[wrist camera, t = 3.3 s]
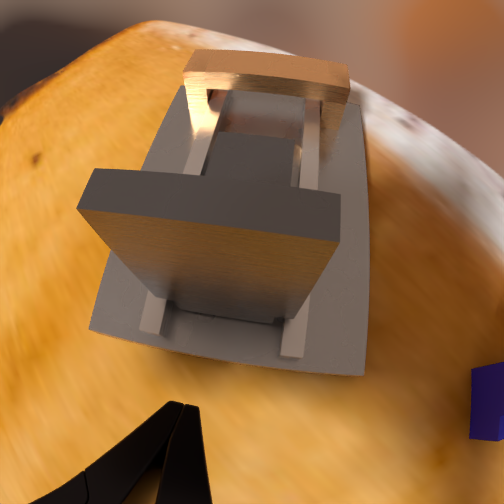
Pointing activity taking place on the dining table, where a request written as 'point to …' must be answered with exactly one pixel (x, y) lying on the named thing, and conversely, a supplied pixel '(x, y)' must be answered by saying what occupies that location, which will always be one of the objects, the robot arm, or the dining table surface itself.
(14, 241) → the dining table surface
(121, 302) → the rail base
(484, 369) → the blue saddle bracket
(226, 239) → the metal angle bracket
